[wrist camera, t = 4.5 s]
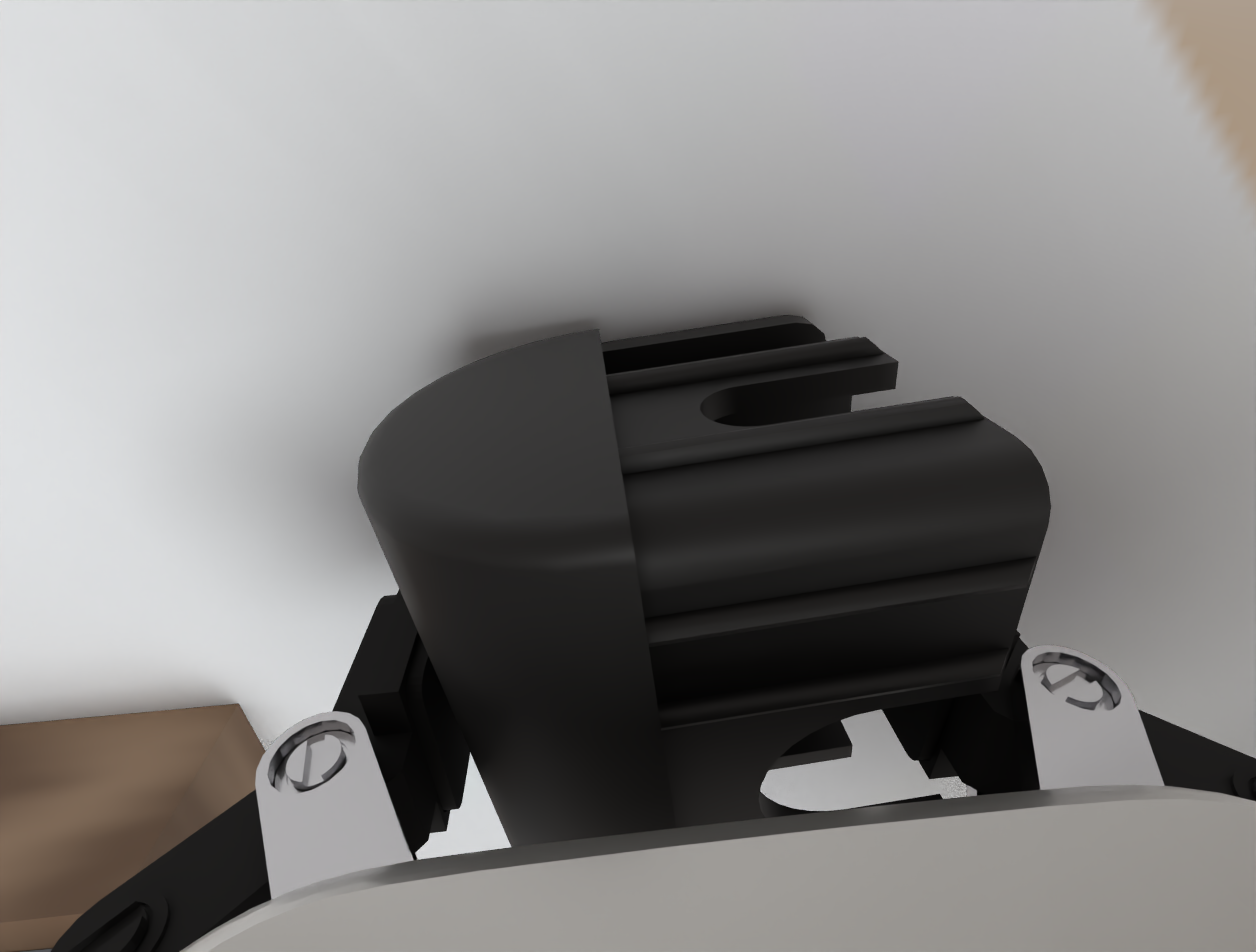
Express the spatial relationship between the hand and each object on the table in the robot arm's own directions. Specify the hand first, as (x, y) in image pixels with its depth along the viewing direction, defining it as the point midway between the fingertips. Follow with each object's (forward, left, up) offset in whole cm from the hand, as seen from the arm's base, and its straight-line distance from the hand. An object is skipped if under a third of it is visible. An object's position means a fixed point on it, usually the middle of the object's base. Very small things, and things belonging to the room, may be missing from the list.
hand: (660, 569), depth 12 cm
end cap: (0, 0, -2) cm, 2 cm away
